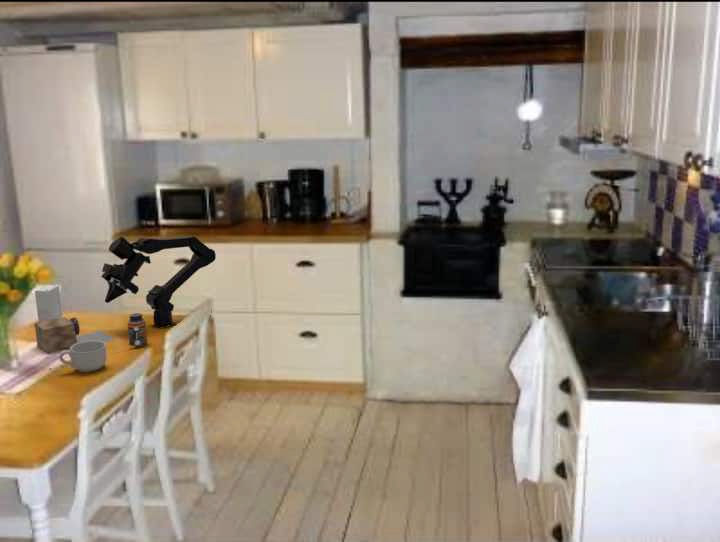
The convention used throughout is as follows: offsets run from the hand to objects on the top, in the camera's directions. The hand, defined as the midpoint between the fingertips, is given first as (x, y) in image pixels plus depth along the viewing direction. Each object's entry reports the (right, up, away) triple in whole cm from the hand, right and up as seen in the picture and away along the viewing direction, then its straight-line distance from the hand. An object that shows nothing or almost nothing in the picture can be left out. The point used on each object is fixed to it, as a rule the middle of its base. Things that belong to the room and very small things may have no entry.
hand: (106, 302), depth 245 cm
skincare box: (-31, -10, +24) cm, 40 cm away
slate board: (-9, -15, -4) cm, 18 cm away
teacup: (+4, -20, -30) cm, 36 cm away
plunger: (-13, -12, -8) cm, 19 cm away
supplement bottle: (+14, -15, -7) cm, 22 cm away
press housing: (-14, -15, -9) cm, 22 cm away
